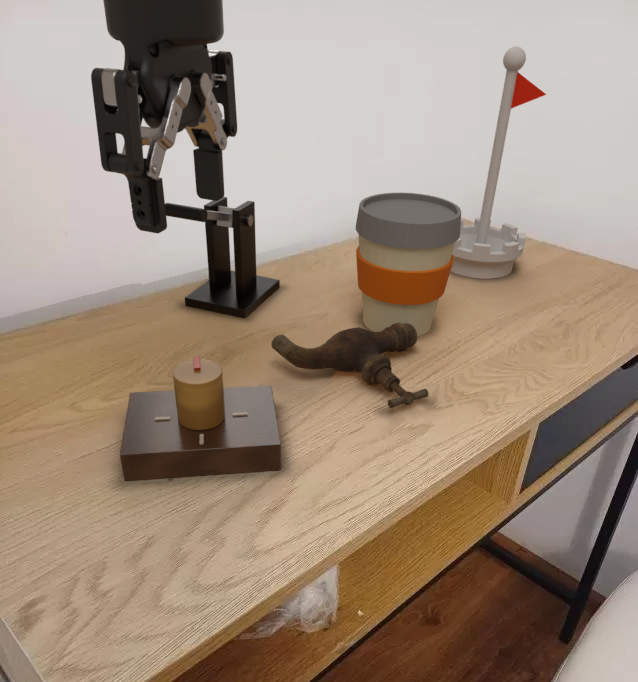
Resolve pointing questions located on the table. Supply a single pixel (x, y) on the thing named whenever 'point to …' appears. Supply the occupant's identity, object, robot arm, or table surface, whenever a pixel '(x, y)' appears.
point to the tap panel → (200, 437)
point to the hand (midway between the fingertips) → (183, 213)
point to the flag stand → (480, 239)
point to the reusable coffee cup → (404, 257)
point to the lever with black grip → (201, 214)
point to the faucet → (358, 356)
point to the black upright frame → (225, 285)
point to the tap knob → (199, 393)
